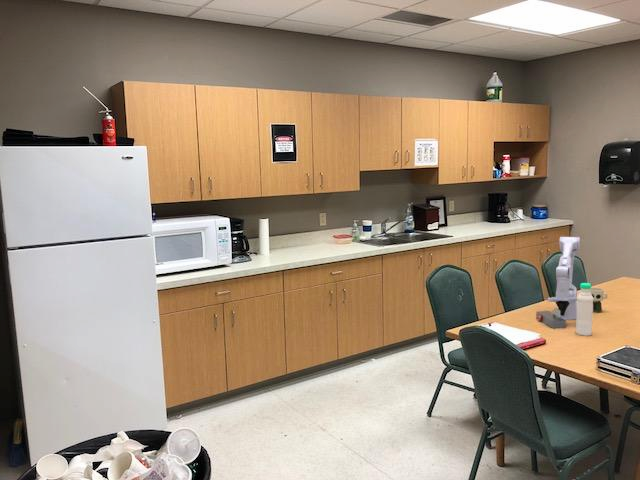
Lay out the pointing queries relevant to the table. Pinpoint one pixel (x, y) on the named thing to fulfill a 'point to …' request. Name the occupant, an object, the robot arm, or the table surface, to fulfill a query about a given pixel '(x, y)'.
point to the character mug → (597, 298)
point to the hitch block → (551, 319)
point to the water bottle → (584, 310)
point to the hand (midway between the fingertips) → (561, 315)
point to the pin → (539, 317)
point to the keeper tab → (557, 312)
